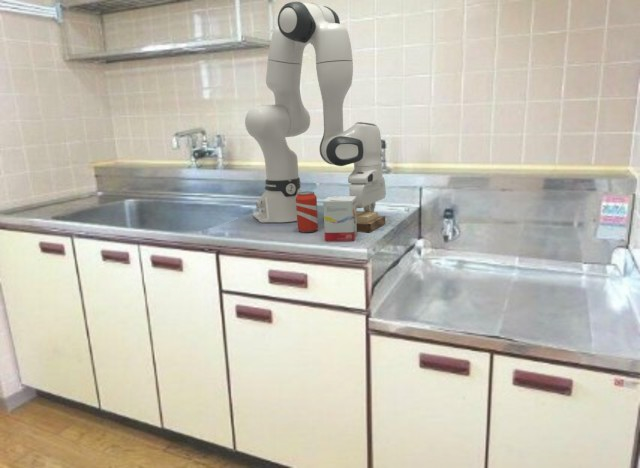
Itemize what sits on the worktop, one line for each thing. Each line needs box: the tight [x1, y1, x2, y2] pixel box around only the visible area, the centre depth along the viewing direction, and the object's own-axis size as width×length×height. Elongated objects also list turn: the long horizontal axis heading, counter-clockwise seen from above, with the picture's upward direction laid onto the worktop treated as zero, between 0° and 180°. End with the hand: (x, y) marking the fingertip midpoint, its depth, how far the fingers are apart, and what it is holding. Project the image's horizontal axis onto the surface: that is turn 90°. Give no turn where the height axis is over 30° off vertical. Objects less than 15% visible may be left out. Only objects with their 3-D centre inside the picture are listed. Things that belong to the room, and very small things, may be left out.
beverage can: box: [296, 190, 319, 233], centre depth 154 cm, size 6×6×12 cm
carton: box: [356, 210, 379, 223], centre depth 157 cm, size 8×8×4 cm
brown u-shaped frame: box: [357, 215, 386, 234], centre depth 156 cm, size 12×12×2 cm
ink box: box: [322, 195, 358, 242], centre depth 143 cm, size 9×9×12 cm
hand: (369, 216), depth 162 cm, fingers closed
